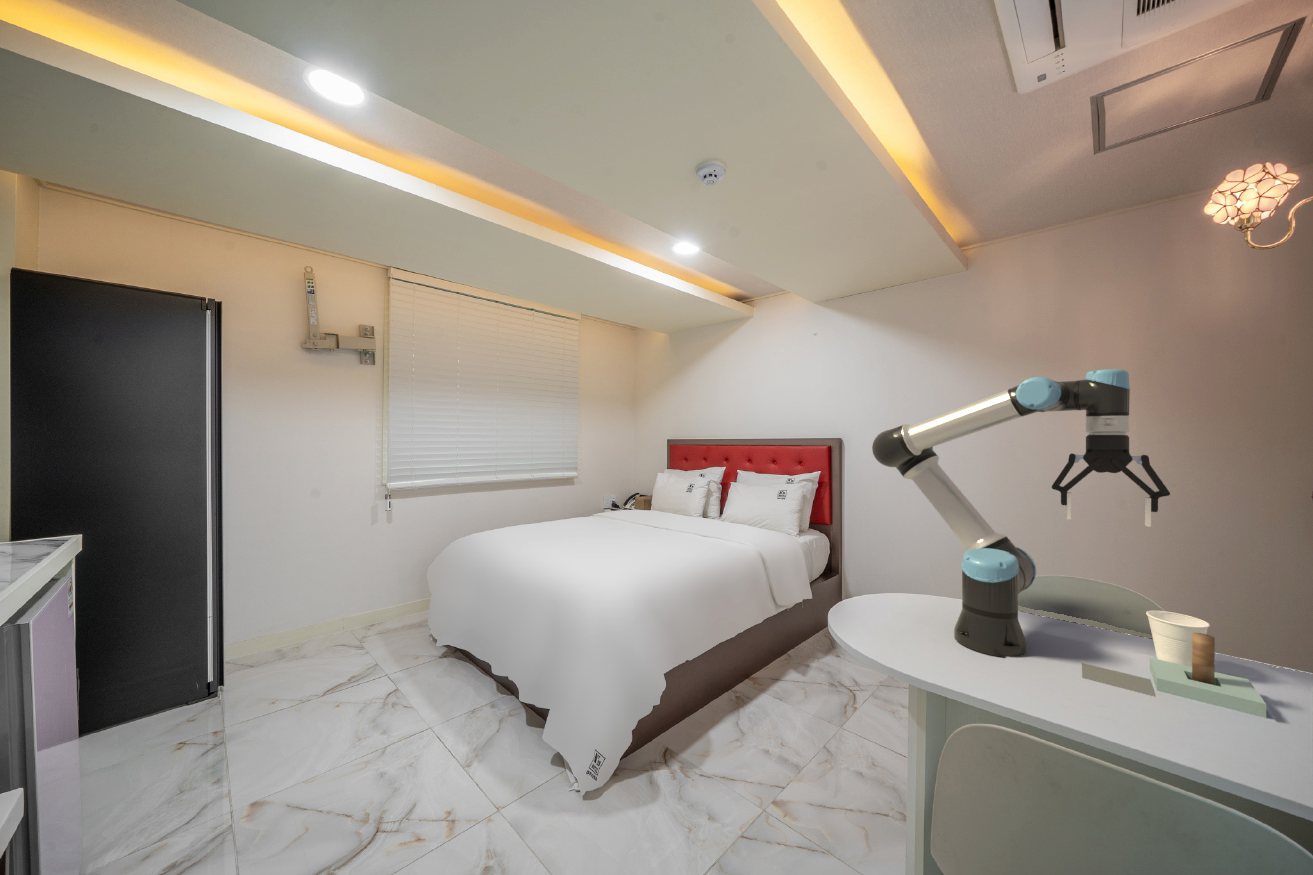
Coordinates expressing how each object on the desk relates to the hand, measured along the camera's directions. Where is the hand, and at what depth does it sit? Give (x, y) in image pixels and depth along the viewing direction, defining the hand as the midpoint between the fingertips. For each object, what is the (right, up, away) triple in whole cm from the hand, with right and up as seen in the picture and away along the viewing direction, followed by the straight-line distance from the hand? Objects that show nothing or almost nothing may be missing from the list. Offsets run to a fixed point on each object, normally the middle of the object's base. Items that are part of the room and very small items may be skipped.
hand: (1106, 522), depth 111 cm
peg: (+5, -33, -15) cm, 36 cm away
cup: (+13, -33, -4) cm, 36 cm away
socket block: (+5, -33, -15) cm, 36 cm away
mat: (-8, -33, -10) cm, 35 cm away
